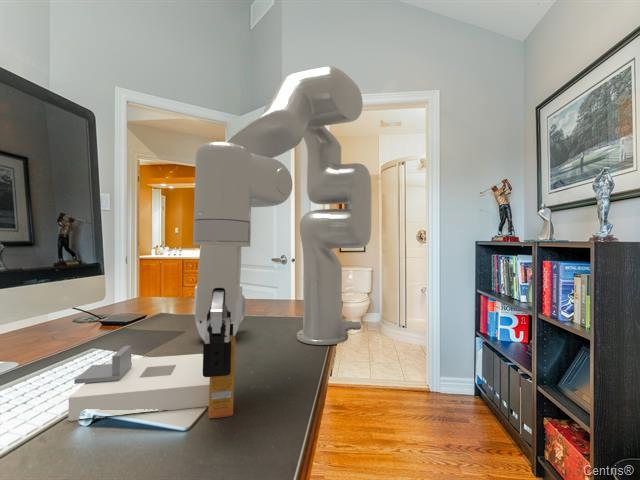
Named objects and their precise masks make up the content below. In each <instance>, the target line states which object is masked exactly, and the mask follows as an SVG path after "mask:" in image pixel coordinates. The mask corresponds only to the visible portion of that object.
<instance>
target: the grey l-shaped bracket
mask: <svg viewBox="0 0 640 480" xmlns="http://www.w3.org/2000/svg"><path fill="white" fill-rule="evenodd" d="M111 357H112V359H111V360H112V364H108V363H107V364H106V363H105V364H92V365H90V367H89V368H87V369H86V370H85V371H83V372H82V373H80V374H79V375H78V376H77V377H76V378H74V381H73V382H74V385H78V384H79V385H80V384H85V383H91V382H102V381H114V380H120V378H121V377H122V376H123V375H124V374H125V373H126V372H127V371H128V370H129V369H130V368H131V366H132V362H131V359H132V345H124V346H123V347H121V348H120V349H119V350H118V351H116V352H115V353H114V354H113V355H112V356H111Z"/></svg>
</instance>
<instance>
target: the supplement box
mask: <svg viewBox="0 0 640 480" xmlns="http://www.w3.org/2000/svg"><path fill="white" fill-rule="evenodd" d="M229 341H231V373H230V375H228V376H216V377H210V383H209V406H208V418H209V419H218V418H225V417H230V416H233V415H234V396H235V395H234V393H235V391H234V390H235V389H234V388H235V367H236V366H235V365H236V364H235V363H236V344H237V343H236V335H235V336H232V335H229Z"/></svg>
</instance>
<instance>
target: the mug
mask: <svg viewBox="0 0 640 480" xmlns="http://www.w3.org/2000/svg"><path fill="white" fill-rule="evenodd" d="M196 298H197V285H195V287H194V303H193V304H194V313H195V312H196ZM246 312H247V299H246V298H245V296H244V295H243V285H242V284H241V283H240V291H239V301H238V308H237V313H236V319H235V320H234V321H233V322H232V323H230V324H233V336H235V337H236V334H237V332H238V330H239V327H240V324H241V323H242V321H243V320H244V318H245V317H246ZM206 320H207V317H206V319H205V321H202V323H201V324H198V323H196V322H195V325H196V329H197V332H198V334H199V336H200V338H201V339H202V341H203V343H204V342H205V333H206V322H207V321H206Z"/></svg>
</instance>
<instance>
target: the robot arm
mask: <svg viewBox="0 0 640 480" xmlns="http://www.w3.org/2000/svg"><path fill="white" fill-rule="evenodd" d="M363 102H364V101H363V97H362V92H361V90H360V88H359V86H358V84H357V83H356V82H355V81H354V80H353V79H352V78H351V77H350V76H349V75H348V74H347V73H346V72H344V71H343V70H342V69H340V68H339V67H336V66H333V65H325V66H321V67H315V68H310V69H307V70H301V71H297V72H293V73H290V74H288V75H286V76H285V77H283V78H282V79H281V80H280V82H279V83H278V85H277V87H276V89H275V90H274V92H273V94H272V96H271V97H270V100H269V102H268V103H267V105H265V108H264V110H263V112H262V113H261V114H260V115H259V116H257V117H256V118H254V119H252V120H251V121H250V122H248V123H247V124H246V125H245V126H243V127H242V128H240V129H239V130H238V131H236V132H235V133H234V134H232V135H231V136H230V137H228V138H227V139H226V140H225V141H210V142H206V143H205V142H204V143H203V144H201V145H200V146H199V147H198V148H197V150H196V153H195V166H194V169H195V170H194V171H195V173H194V199H193V200H194V202H193V203H194V205H193V206H194V207H193V208H194V209H193V234H192V235H193V236H192V240H193V242H192V243H193V244H192V245H193V246H195V247H198V246H199V247H200V249H199V250H200V251H199V258H198V267H197V282H196V283H197V284H196V286H197V298H196V312H194V321H195V324H196V323H198V324H201V323H202V321H205V319H206V317H207V320H206V321H207V322H206V333H205V342H204V341H203V347H202V352H203V353H202V354H203V376H204V377H216V376H228V375H230V373H231V341H229V335H232V336H233V324H230V323H232V322H233V321H234V320H235V319H236V313H237V308H238V301H239V291H240V284H241V272H242V248H243V247H244V248H245V247H246V248H249V247H251V231H252V230H251V229H252V228H251V227H252V222H251V221H252V208H267V207H268V208H269V207H276V206H279V205H281V204H283V203H285V202H286V201H287V200H288V199H289V197H290V195H291V194H292V190H293V179H292V175H291V172H290V171H289V169H288V168H287V166H286V165H285V164H284V163H282V162H281V161H279V160H278V159H275V158H276V157H279V156H281V155H283V154H284V153H287V152H289V151H290V150H293V149H294V148H296V147H297V146H298V145H299V144H300V143H301V142H302V140H304V142H305V145H306V150H307V164H306V165H307V167H306V171H307V172H306V190H307V196H308V199H309V201H310V202H311V203H313V204H315V205H342V204H344V205H346V204H349V205H350V208H327V209H326V208H325V209H321V208H320V209H314V210H310V211H308V212H306V213H305V214H304V215H303V216H302V217H301V219H300V221H299V235H300V239H301V248H302V255H303V257H302V258H303V278H302V279H303V282H302V283H303V286H302V287H303V290H302V291H303V298H302V299H303V301H302V303H303V304H302V306H303V310H302V311H303V313H302V316H303V319H302V320H303V321H302V324H303V325H302V326H303V327H302V329H301V330H299V331H297V332H296V339H297V340H298V341H299V342H301V343H304V344H308V345H313V346H315V345H316V346H332V345H339V344H342V343H344V342H346V341H347V340H348V339H349V333H348V332H349V330H354V331H357V330H361V329H362V323H361V322H360V321H353V320H345V319H344V318H343V290H342V289H343V267H342V263H341V261H340V259H339V258H338V256H337V255H336V254H335V252H334V250H333V249H361V248H365V247H366V246H367V245H368V244H369V243H370V240H371V235H372V178H371V174H370V171H369V169H368V167H367V166H365V165H364V164H362V163H360V162H359V163H358V162H357V163H355V162H354V163H342V146H341V143H340V142H339V140H338V139H337V138H336V136H335V135H334V134H333V133H332V132H330V130H329V129H327V128H326V126H331V125H339V124H345V123H351V122H352V123H353V122H355V121H357V120H358V119H359V118H360V116H361V114H362V111H363Z"/></svg>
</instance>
